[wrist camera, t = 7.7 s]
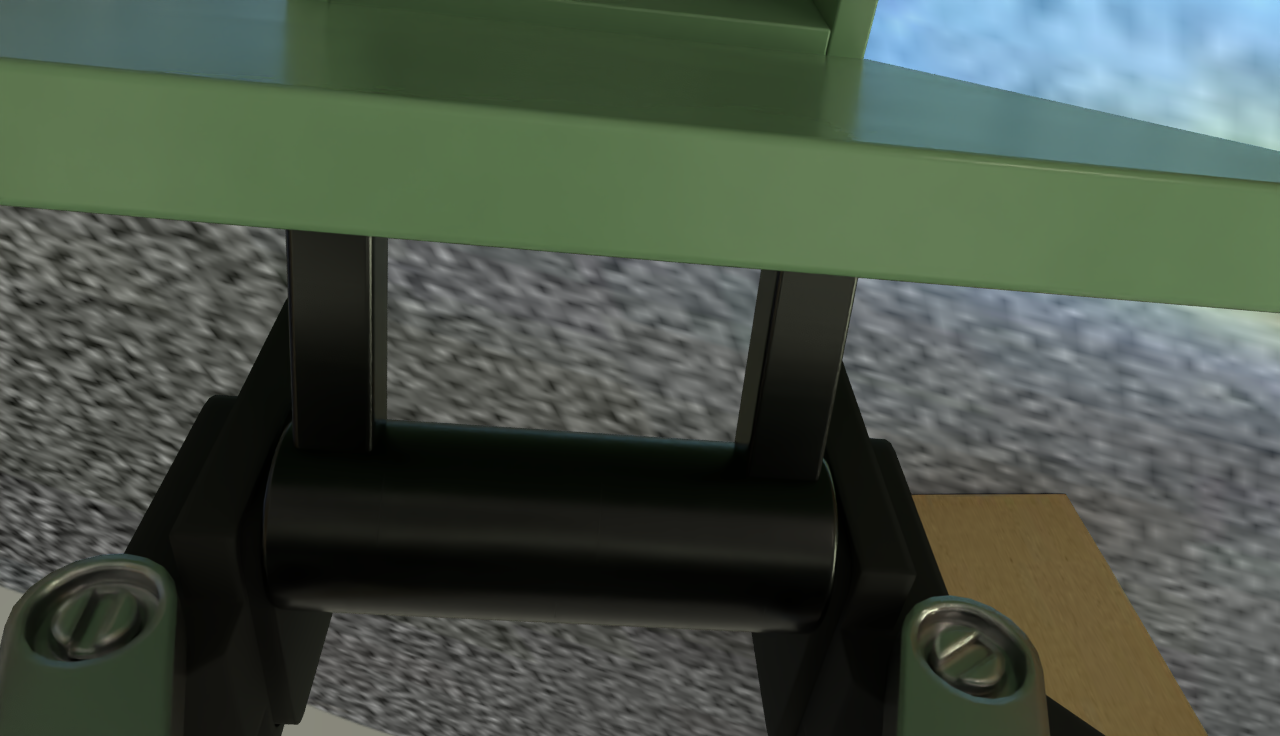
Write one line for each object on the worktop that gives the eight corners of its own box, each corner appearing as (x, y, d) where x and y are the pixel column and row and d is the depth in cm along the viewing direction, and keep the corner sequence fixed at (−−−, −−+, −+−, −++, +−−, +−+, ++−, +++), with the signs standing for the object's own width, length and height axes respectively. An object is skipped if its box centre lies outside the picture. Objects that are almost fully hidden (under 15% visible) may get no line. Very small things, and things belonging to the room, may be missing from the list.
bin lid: (-578, 1, 5) (-310, 781, 6) (1549, 210, 6) (1268, 827, 8) (281, -4, 18) (289, 250, 20) (869, 59, 19) (826, 295, 21)
